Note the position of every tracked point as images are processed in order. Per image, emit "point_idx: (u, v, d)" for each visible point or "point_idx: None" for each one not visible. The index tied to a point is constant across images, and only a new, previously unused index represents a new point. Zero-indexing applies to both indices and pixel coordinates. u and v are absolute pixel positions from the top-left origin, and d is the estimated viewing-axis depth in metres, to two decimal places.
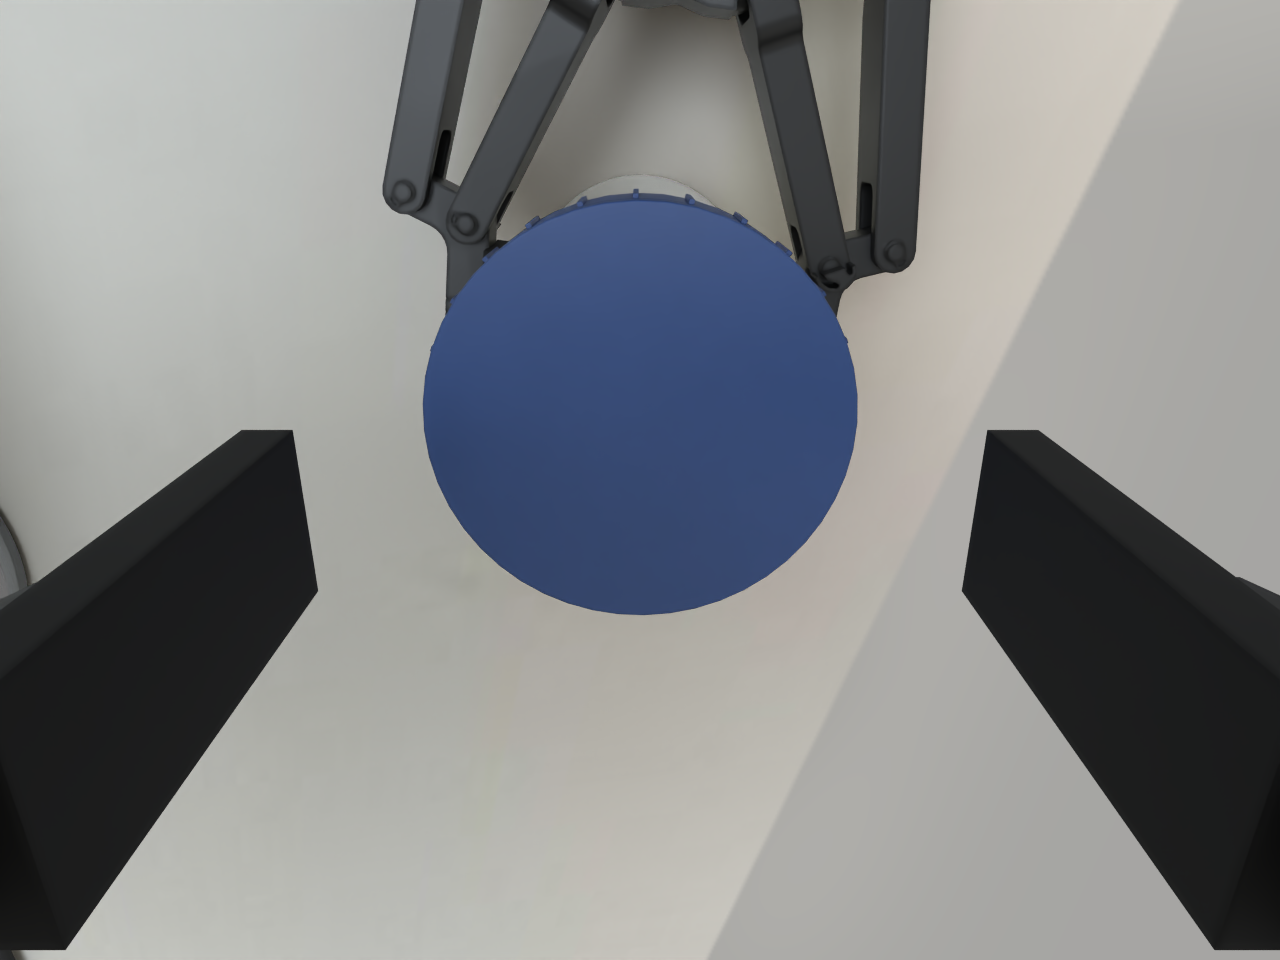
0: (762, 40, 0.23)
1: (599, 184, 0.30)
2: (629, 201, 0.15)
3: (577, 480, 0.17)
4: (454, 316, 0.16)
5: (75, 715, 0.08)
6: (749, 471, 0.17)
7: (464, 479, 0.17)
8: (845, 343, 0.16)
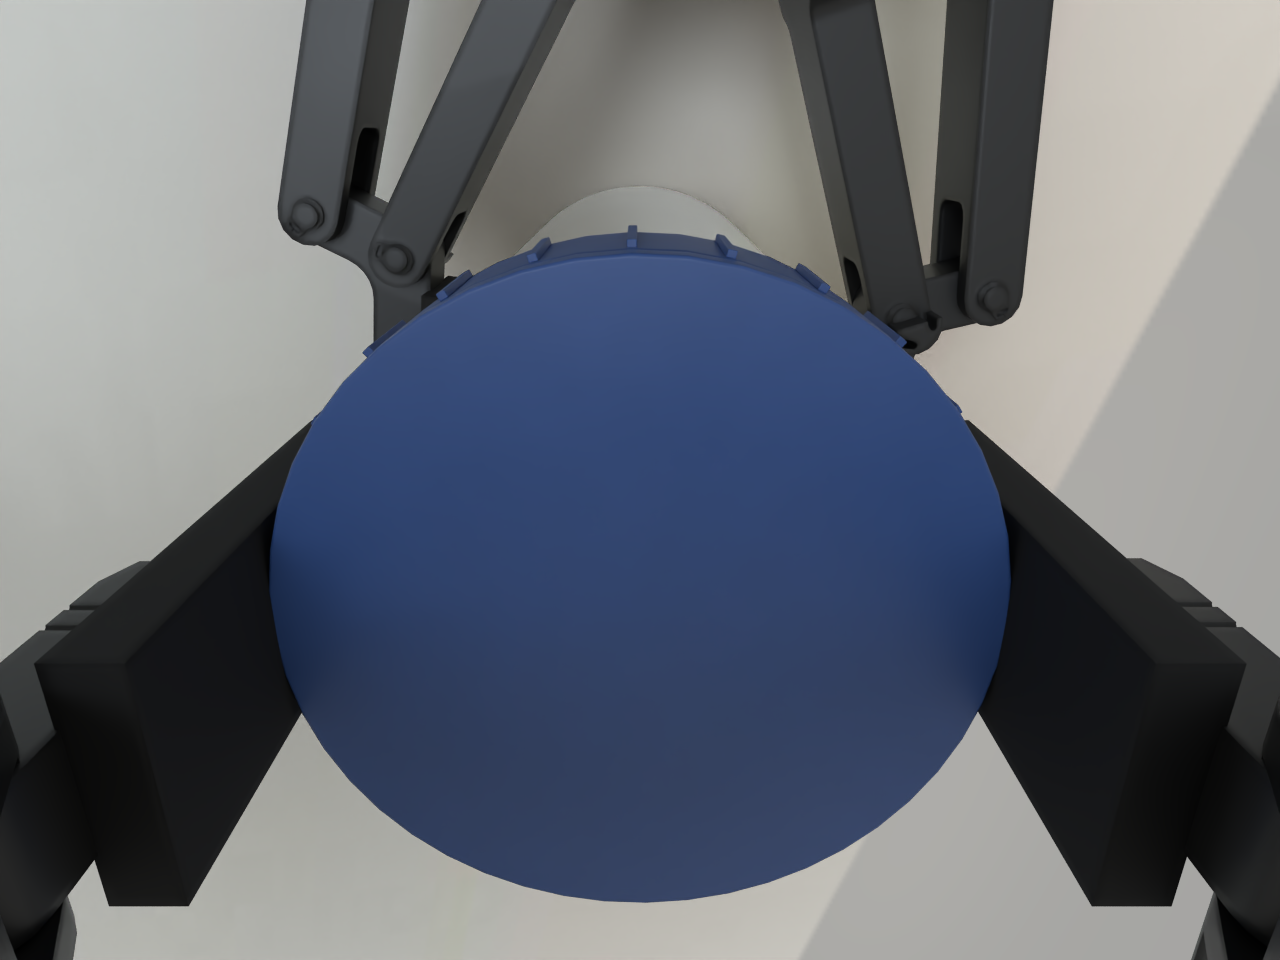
0: None
1: (586, 199, 0.23)
2: (620, 256, 0.09)
3: (534, 711, 0.10)
4: (313, 454, 0.09)
5: (196, 684, 0.08)
6: (822, 697, 0.10)
7: (346, 709, 0.10)
8: (997, 497, 0.09)
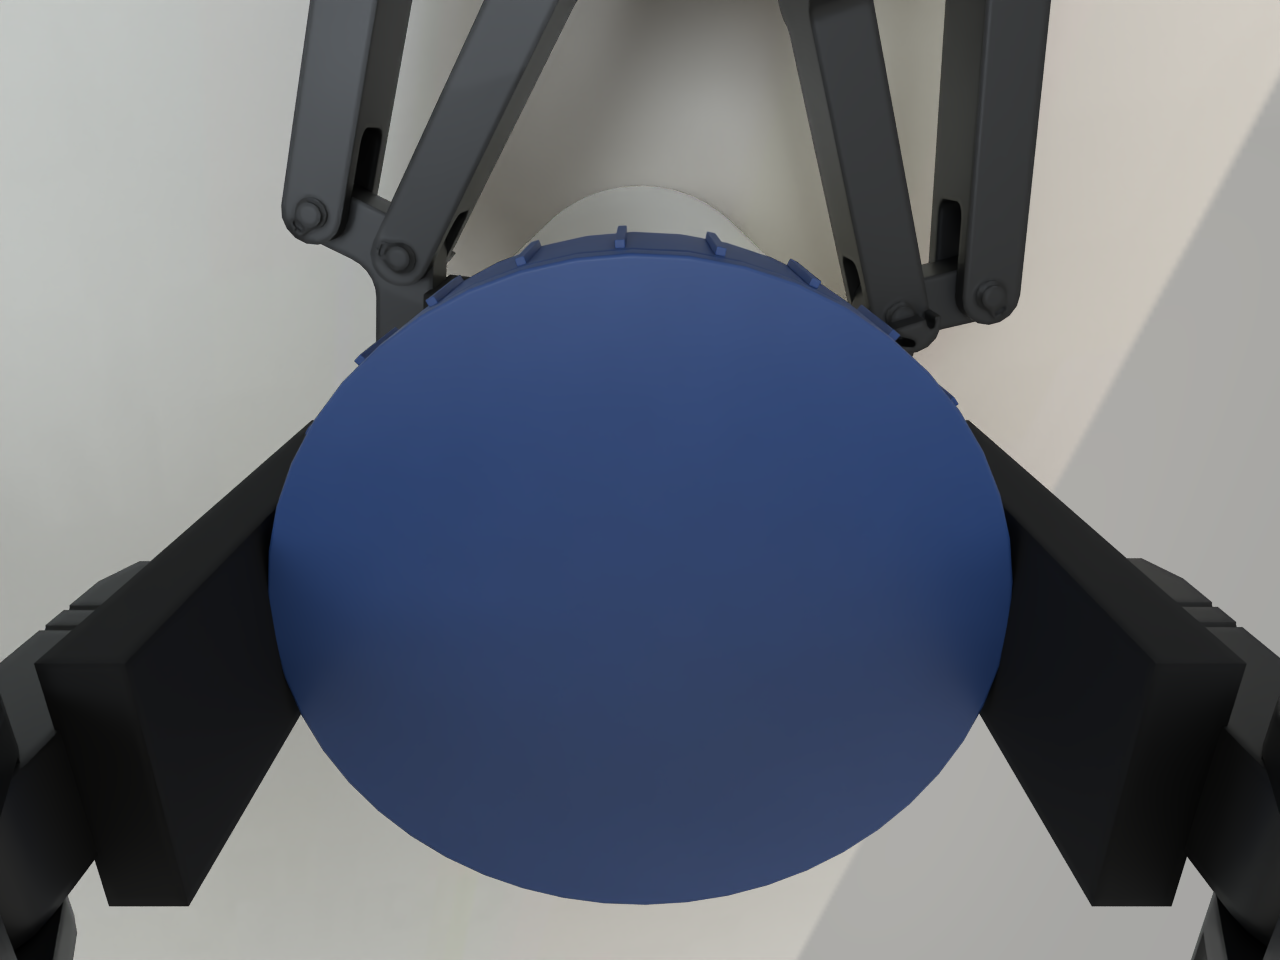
0: (814, 0, 0.16)
1: (587, 198, 0.23)
2: (329, 755, 0.11)
3: (768, 686, 0.10)
4: (587, 894, 0.12)
5: (196, 684, 0.08)
6: (643, 436, 0.09)
7: (825, 823, 0.11)
8: (346, 382, 0.09)
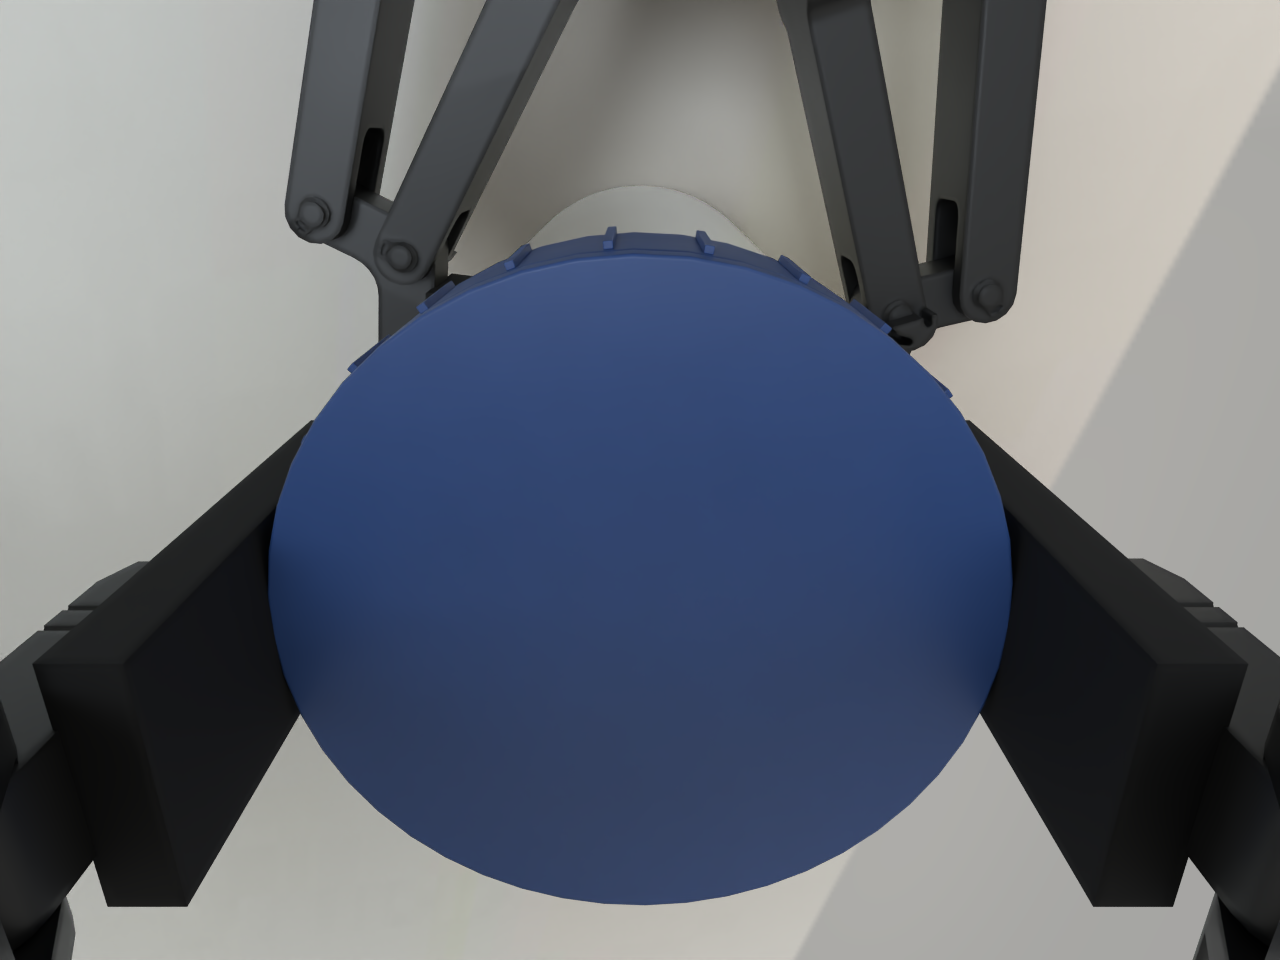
0: (812, 1, 0.16)
1: (588, 198, 0.23)
2: (883, 824, 0.11)
3: (650, 497, 0.09)
4: (999, 564, 0.10)
5: (195, 684, 0.08)
6: (454, 695, 0.10)
7: (811, 353, 0.09)
8: (520, 886, 0.12)
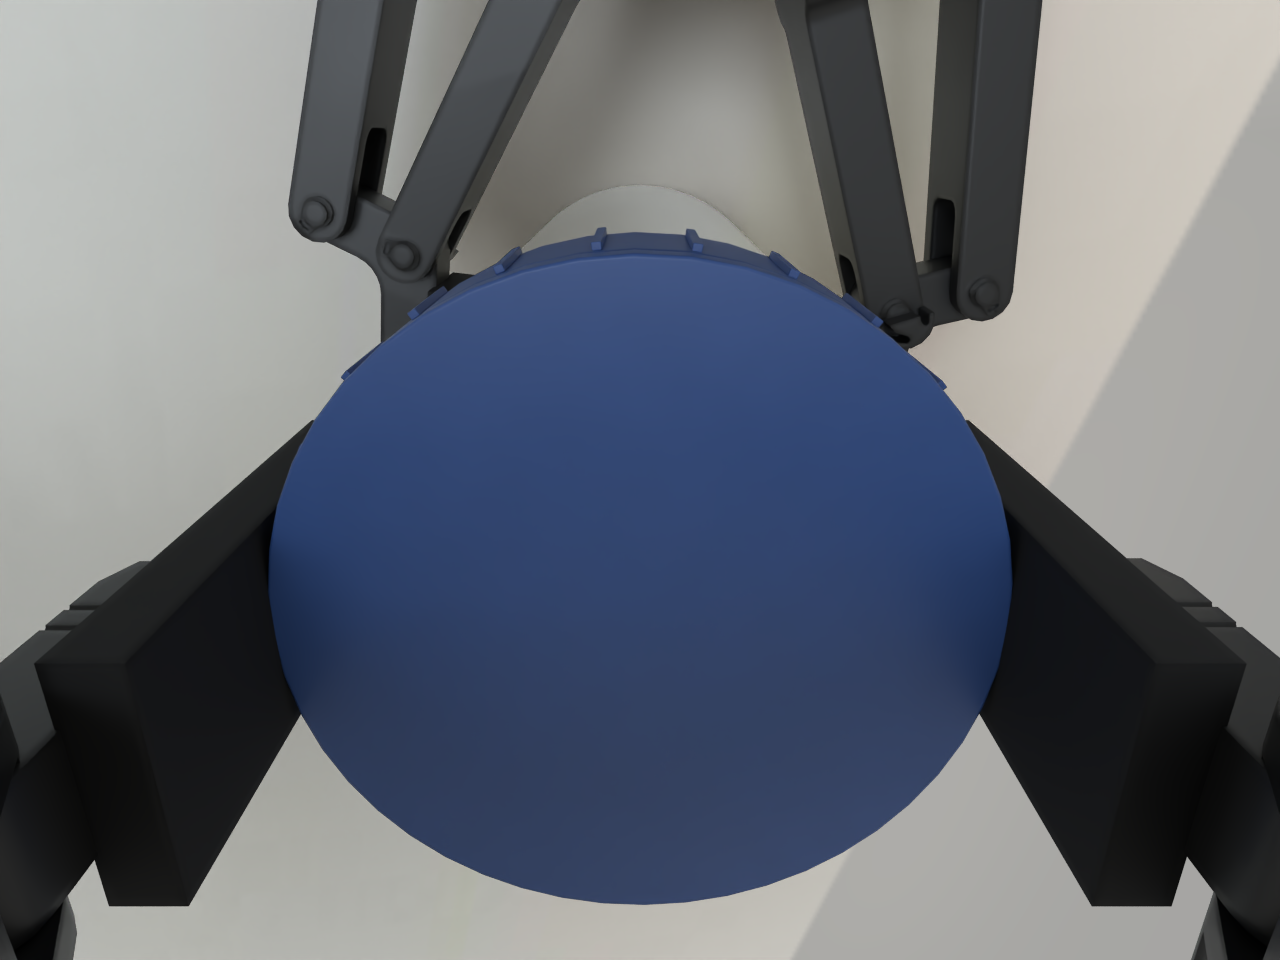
0: (811, 3, 0.16)
1: (588, 197, 0.24)
2: (788, 283, 0.09)
3: (503, 672, 0.10)
4: (406, 345, 0.09)
5: (195, 684, 0.08)
6: (774, 751, 0.11)
7: (316, 604, 0.10)
8: None
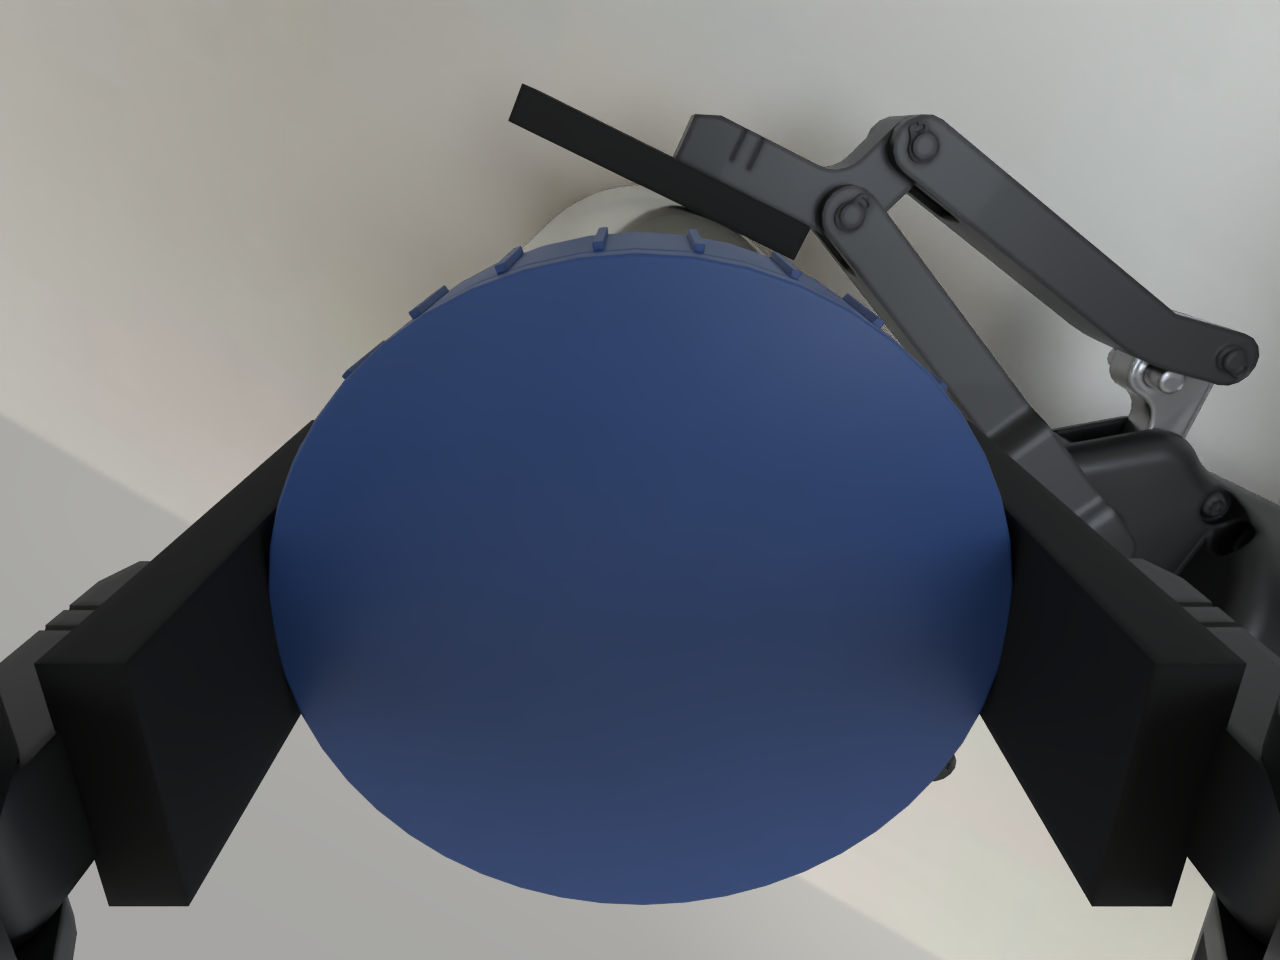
0: None
1: None
2: (790, 283, 0.09)
3: (503, 671, 0.10)
4: (408, 344, 0.09)
5: (196, 684, 0.08)
6: (774, 751, 0.11)
7: (316, 604, 0.10)
8: None
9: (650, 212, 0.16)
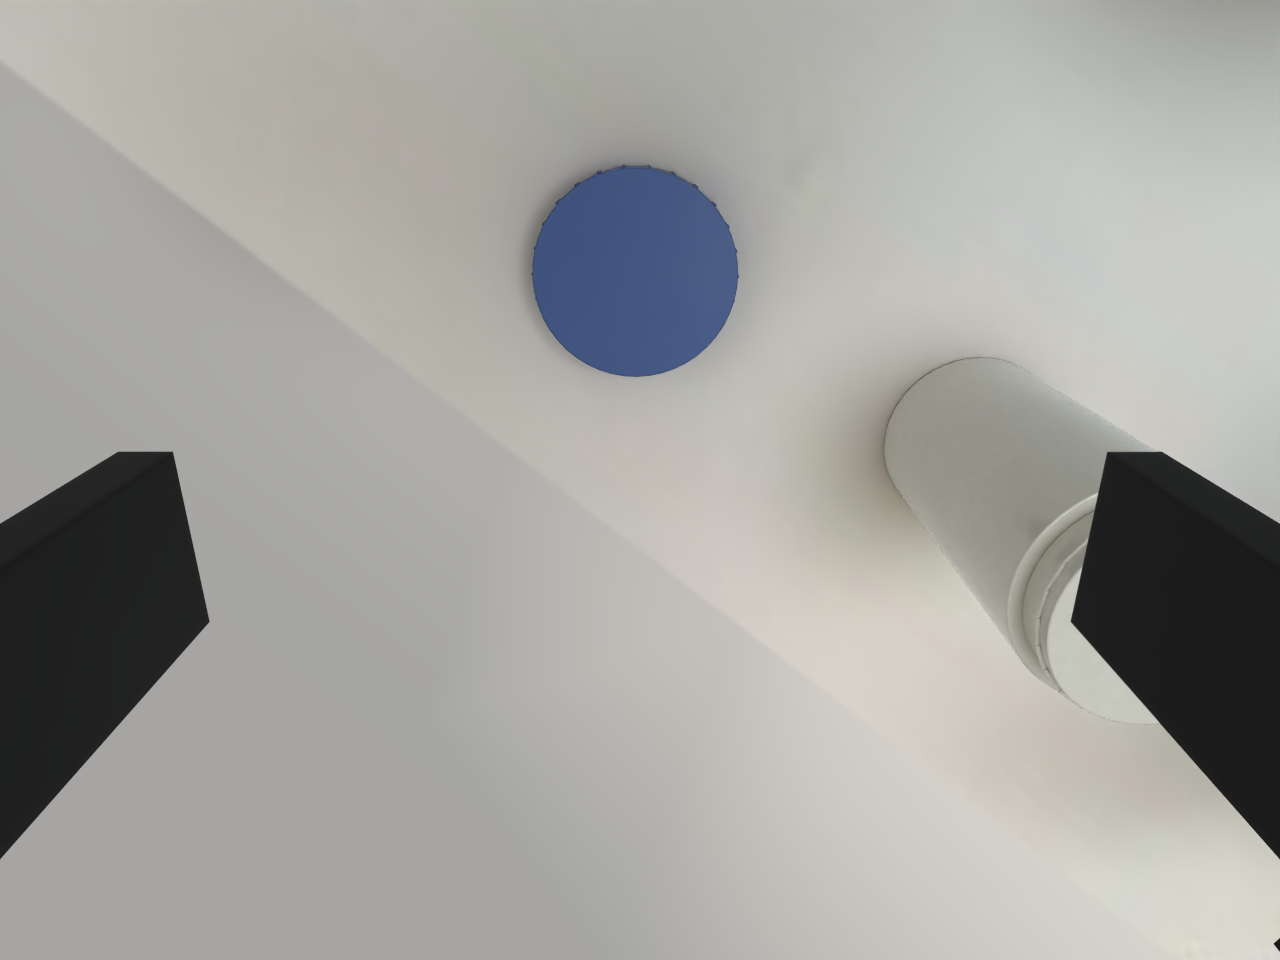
0: None
1: None
2: (671, 175, 0.35)
3: (596, 290, 0.36)
4: (576, 191, 0.35)
5: None
6: (674, 318, 0.37)
7: (545, 268, 0.36)
8: (737, 275, 0.36)
9: (1091, 421, 0.31)
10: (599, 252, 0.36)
